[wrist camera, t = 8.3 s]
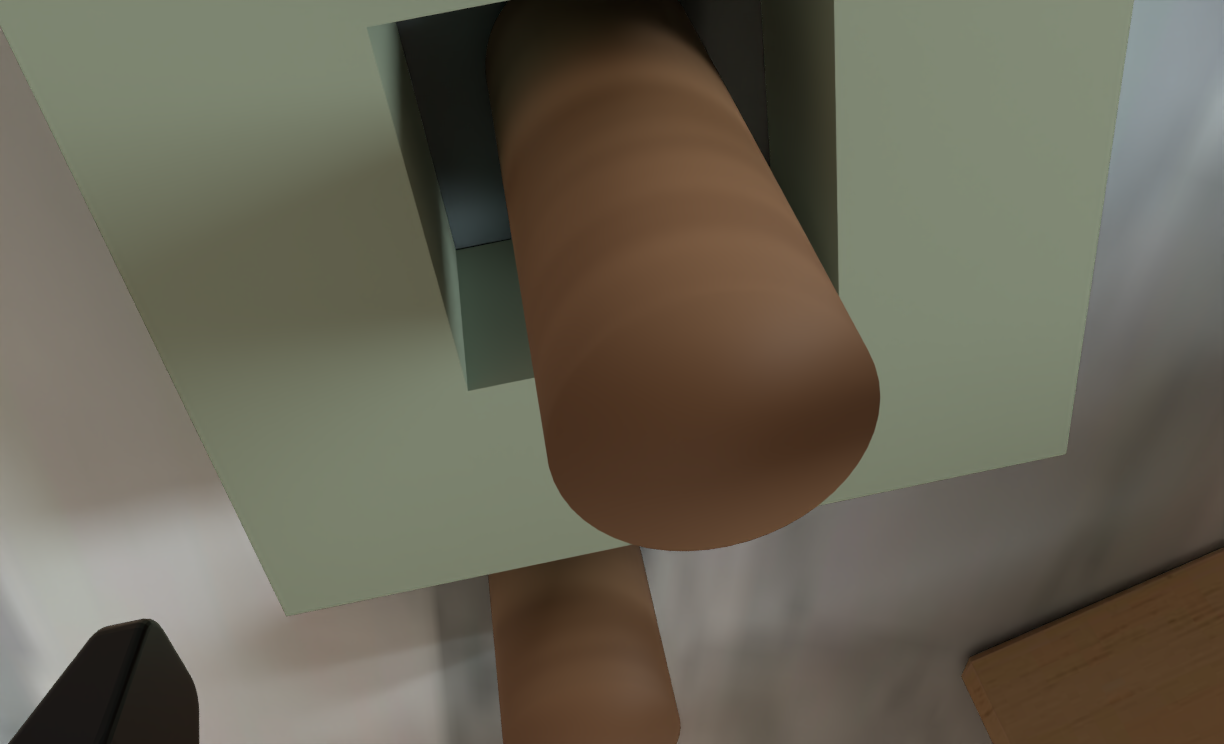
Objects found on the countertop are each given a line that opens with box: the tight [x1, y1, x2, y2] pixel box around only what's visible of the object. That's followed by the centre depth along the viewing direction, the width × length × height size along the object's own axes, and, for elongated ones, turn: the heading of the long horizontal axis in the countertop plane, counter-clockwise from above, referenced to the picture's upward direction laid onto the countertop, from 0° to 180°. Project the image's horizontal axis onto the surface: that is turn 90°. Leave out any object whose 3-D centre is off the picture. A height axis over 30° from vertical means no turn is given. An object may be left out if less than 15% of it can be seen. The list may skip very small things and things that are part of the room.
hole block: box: [0, 0, 1134, 616], centre depth 15 cm, size 12×12×4 cm
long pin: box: [485, 0, 880, 551], centre depth 13 cm, size 3×3×8 cm
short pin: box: [488, 544, 681, 744], centre depth 21 cm, size 3×3×4 cm
